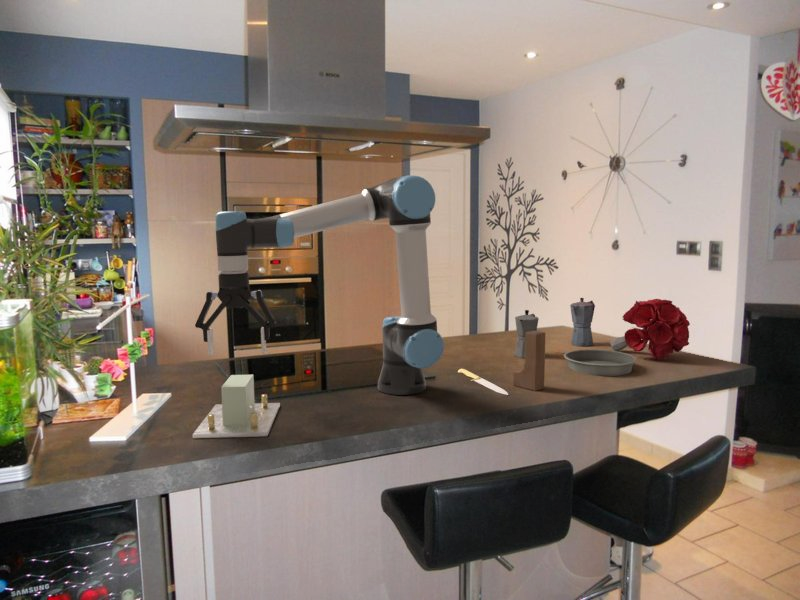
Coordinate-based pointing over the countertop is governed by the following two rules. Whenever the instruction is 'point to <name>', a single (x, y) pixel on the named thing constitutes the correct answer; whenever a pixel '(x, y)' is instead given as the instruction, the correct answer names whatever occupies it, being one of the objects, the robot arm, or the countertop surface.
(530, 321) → the coffeepot
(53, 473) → the countertop surface
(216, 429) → the chassis plate
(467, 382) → the countertop surface
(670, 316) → the bouquet
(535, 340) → the wooden block
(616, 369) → the cake pan
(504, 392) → the knife
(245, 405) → the pale green rectangular block
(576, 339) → the moka pot
